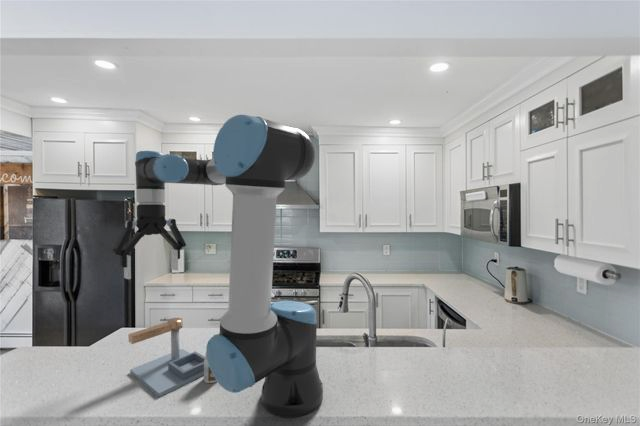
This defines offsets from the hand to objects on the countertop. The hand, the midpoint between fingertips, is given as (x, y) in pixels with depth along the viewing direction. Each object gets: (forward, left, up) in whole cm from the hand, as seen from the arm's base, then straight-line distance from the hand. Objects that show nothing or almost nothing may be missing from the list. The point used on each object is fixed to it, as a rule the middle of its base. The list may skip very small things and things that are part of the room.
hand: (152, 273), depth 92 cm
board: (-12, 0, -26) cm, 29 cm away
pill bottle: (-24, -5, -26) cm, 36 cm away
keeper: (-8, +2, -15) cm, 17 cm away
